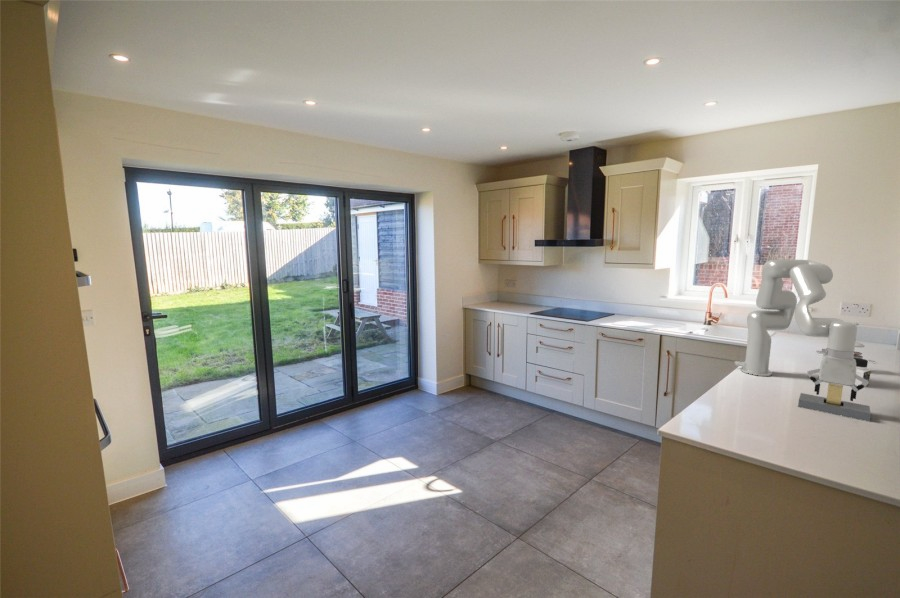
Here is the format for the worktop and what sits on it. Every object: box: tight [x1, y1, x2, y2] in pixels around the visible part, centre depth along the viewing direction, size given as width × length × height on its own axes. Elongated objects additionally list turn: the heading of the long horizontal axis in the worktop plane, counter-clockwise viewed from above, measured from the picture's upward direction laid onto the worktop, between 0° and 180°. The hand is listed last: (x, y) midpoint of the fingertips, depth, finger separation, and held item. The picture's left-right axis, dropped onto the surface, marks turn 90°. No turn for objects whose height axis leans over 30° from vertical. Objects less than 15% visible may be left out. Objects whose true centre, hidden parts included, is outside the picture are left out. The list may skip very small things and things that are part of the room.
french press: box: [853, 322, 865, 359], centre depth 210 cm, size 10×12×25 cm
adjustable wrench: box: [816, 350, 876, 363], centre depth 235 cm, size 25×6×2 cm, turn 28°
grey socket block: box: [797, 392, 871, 422], centre depth 160 cm, size 20×10×3 cm, turn 46°
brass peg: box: [826, 383, 844, 406], centre depth 159 cm, size 4×4×10 cm
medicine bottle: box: [853, 358, 872, 386], centre depth 190 cm, size 7×7×12 cm
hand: (834, 396), depth 159 cm, fingers open, 9 cm apart
